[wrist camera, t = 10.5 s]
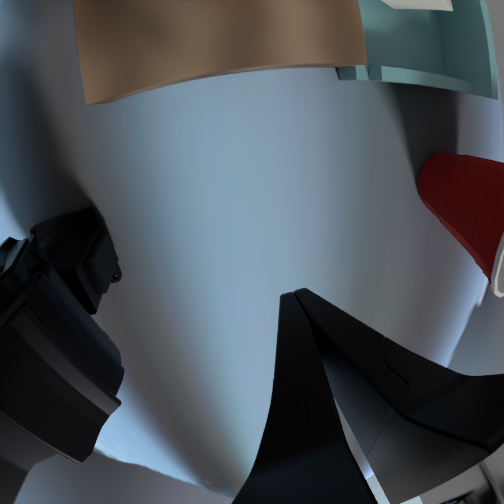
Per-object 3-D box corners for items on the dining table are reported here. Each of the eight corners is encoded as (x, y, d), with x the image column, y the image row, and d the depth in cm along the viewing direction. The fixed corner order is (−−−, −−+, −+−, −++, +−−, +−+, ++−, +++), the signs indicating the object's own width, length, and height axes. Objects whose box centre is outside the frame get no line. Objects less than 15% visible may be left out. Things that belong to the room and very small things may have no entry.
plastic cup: (463, 219, 26) (537, 276, 16) (394, 239, 26) (476, 319, 15) (472, 126, 21) (566, 165, 11) (398, 126, 20) (519, 171, 10)
